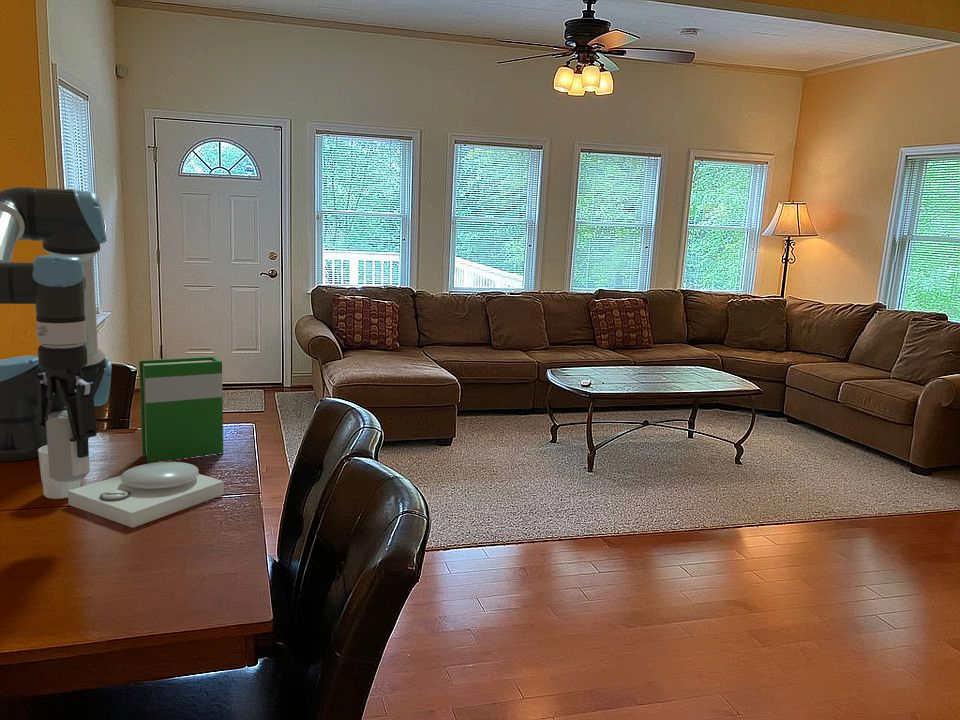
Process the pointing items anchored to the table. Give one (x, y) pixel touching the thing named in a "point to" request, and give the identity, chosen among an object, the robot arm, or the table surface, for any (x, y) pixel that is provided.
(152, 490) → the kitchen scale
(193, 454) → the hardback book
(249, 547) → the table surface
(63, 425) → the beverage can
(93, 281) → the robot arm
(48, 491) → the white cup
